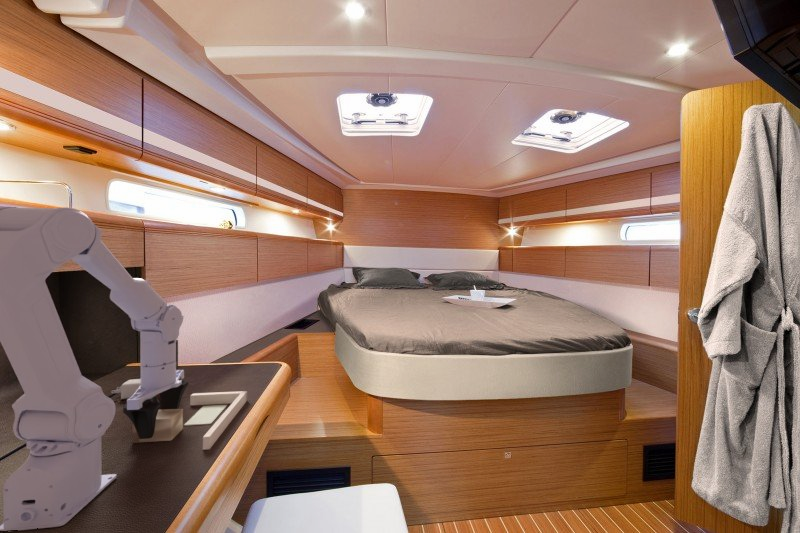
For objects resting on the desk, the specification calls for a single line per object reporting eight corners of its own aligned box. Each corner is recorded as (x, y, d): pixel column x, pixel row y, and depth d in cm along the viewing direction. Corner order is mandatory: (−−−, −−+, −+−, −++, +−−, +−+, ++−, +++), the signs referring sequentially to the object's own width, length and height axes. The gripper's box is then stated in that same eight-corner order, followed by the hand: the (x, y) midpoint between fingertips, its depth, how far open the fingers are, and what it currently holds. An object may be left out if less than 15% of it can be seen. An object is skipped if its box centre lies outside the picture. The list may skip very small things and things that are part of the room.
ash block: (171, 440, 60) (171, 418, 60) (132, 442, 59) (132, 420, 59) (182, 429, 64) (182, 408, 64) (146, 431, 63) (146, 410, 63)
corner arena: (209, 449, 58) (209, 436, 57) (134, 454, 56) (134, 441, 56) (247, 400, 77) (247, 391, 77) (192, 403, 75) (192, 393, 75)
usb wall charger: (141, 398, 78) (140, 383, 77) (108, 401, 76) (108, 385, 76) (149, 391, 81) (149, 377, 81) (119, 394, 80) (119, 379, 80)
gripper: (156, 375, 55) (157, 447, 55) (198, 350, 69) (198, 408, 69) (113, 376, 54) (114, 450, 54) (164, 351, 68) (165, 409, 68)
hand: (159, 426), depth 62 cm, fingers open, 7 cm apart
